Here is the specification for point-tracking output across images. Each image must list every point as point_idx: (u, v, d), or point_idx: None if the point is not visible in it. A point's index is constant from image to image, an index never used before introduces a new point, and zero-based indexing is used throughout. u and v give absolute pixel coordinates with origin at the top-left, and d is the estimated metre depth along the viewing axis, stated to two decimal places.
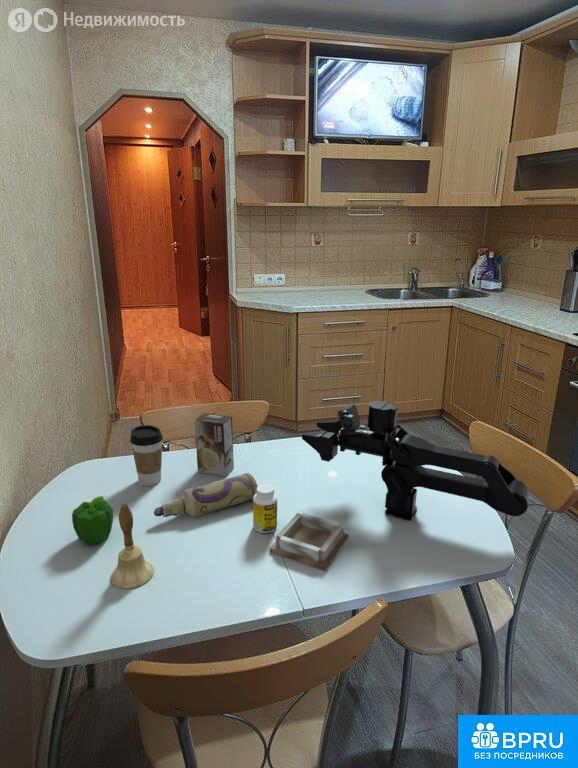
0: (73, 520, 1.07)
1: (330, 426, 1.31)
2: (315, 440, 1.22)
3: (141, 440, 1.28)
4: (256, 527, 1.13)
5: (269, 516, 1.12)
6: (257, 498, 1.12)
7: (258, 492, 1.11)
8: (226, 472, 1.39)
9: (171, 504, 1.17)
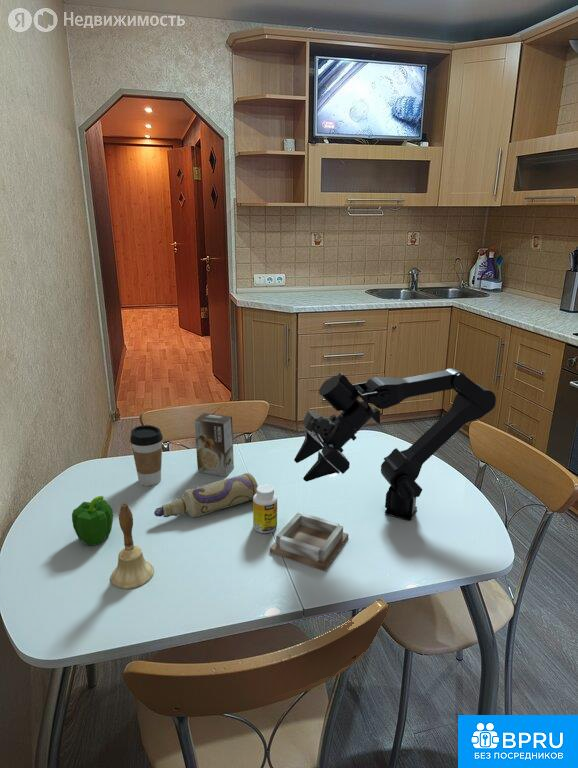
0: (73, 520, 1.07)
1: (306, 449, 1.17)
2: (319, 468, 1.08)
3: (141, 440, 1.28)
4: (256, 527, 1.13)
5: (269, 516, 1.12)
6: (257, 498, 1.12)
7: (258, 492, 1.11)
8: (226, 472, 1.39)
9: (171, 504, 1.17)
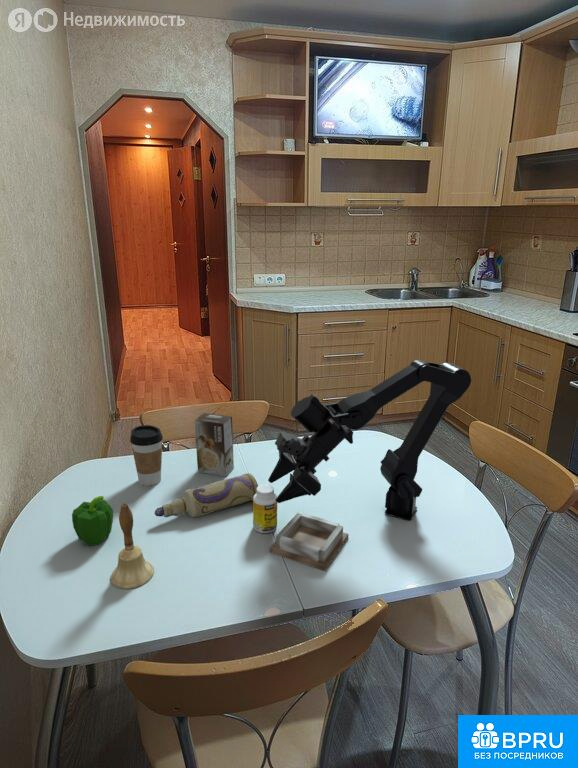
0: (73, 520, 1.07)
1: (280, 469, 1.17)
2: (291, 490, 1.07)
3: (141, 440, 1.28)
4: (256, 527, 1.13)
5: (269, 516, 1.12)
6: (257, 498, 1.12)
7: (258, 492, 1.11)
8: (226, 472, 1.39)
9: (172, 504, 1.17)
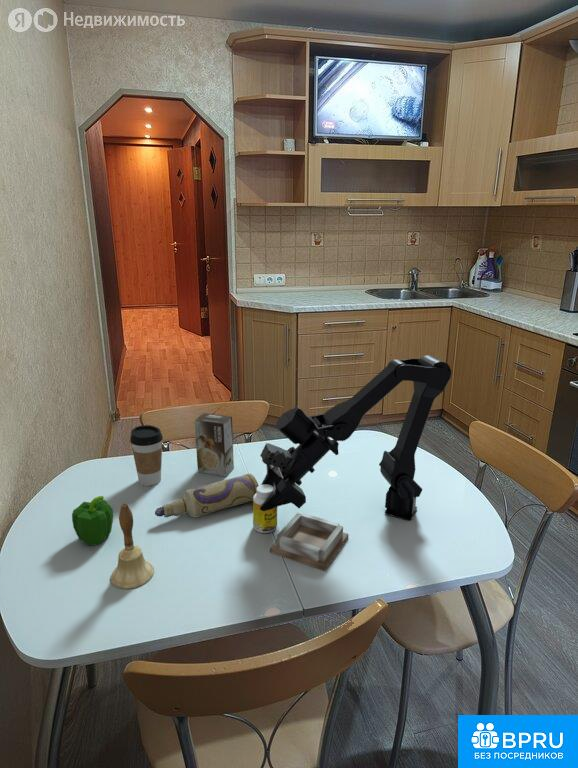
0: (73, 520, 1.07)
1: (268, 484, 1.16)
2: (274, 498, 1.09)
3: (141, 440, 1.28)
4: (256, 527, 1.13)
5: (269, 516, 1.12)
6: (257, 498, 1.12)
7: (258, 492, 1.11)
8: (226, 472, 1.39)
9: (172, 504, 1.17)
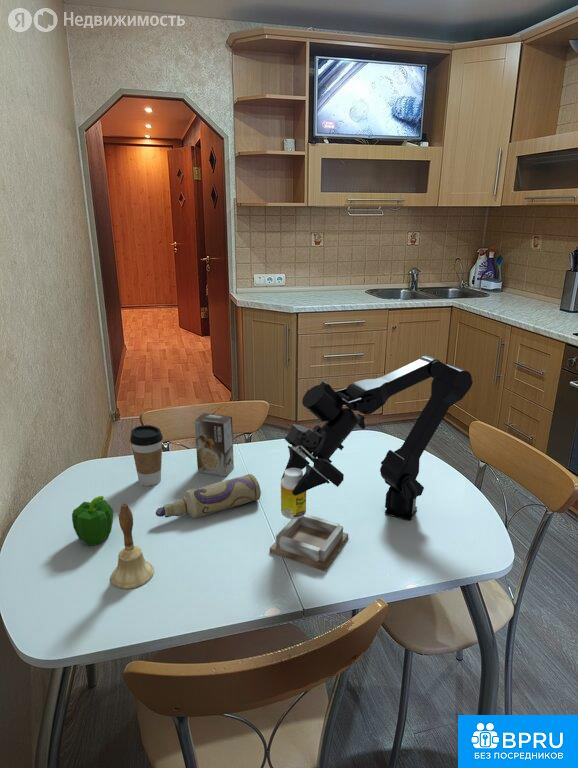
0: (73, 520, 1.07)
1: (293, 467, 1.10)
2: (308, 480, 1.03)
3: (141, 440, 1.28)
4: (286, 514, 1.07)
5: (300, 500, 1.06)
6: (286, 483, 1.06)
7: (287, 476, 1.05)
8: (226, 472, 1.39)
9: (173, 504, 1.17)
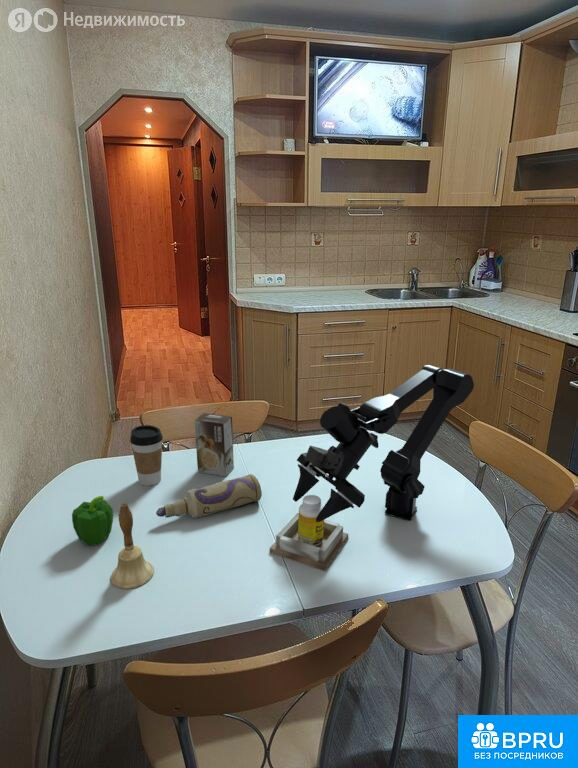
0: (73, 520, 1.07)
1: (304, 486, 1.10)
2: (332, 506, 1.02)
3: (141, 440, 1.28)
4: (305, 542, 1.06)
5: (320, 527, 1.06)
6: (306, 511, 1.05)
7: (307, 504, 1.05)
8: (226, 472, 1.39)
9: (173, 505, 1.17)
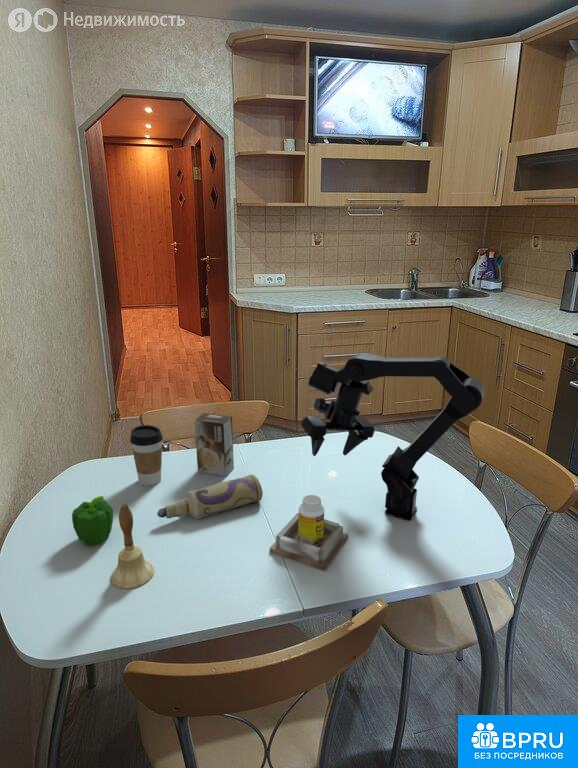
0: (73, 520, 1.07)
1: (348, 442, 1.28)
2: (313, 440, 1.23)
3: (141, 440, 1.28)
4: (305, 542, 1.06)
5: (320, 527, 1.06)
6: (306, 511, 1.05)
7: (307, 504, 1.05)
8: (226, 472, 1.39)
9: (175, 505, 1.16)
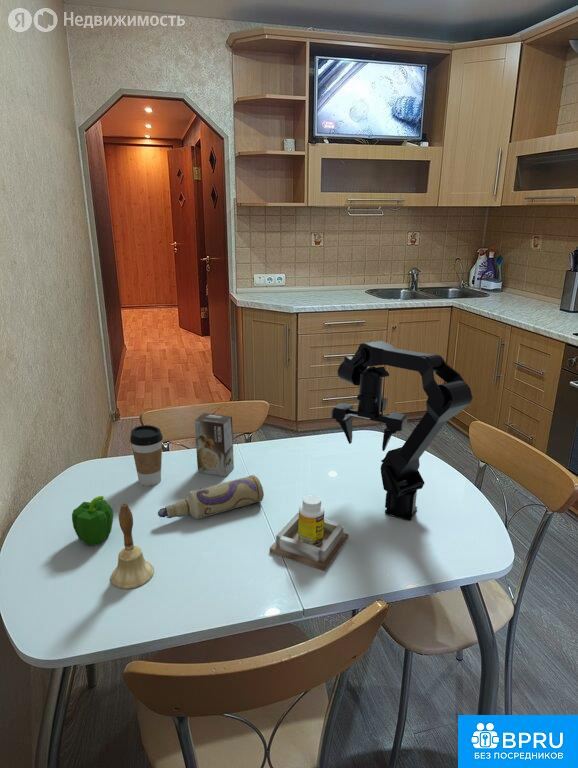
0: (73, 520, 1.07)
1: None
2: None
3: (141, 440, 1.28)
4: (305, 542, 1.06)
5: (320, 527, 1.06)
6: (306, 511, 1.05)
7: (307, 504, 1.05)
8: (226, 472, 1.39)
9: (175, 505, 1.16)
